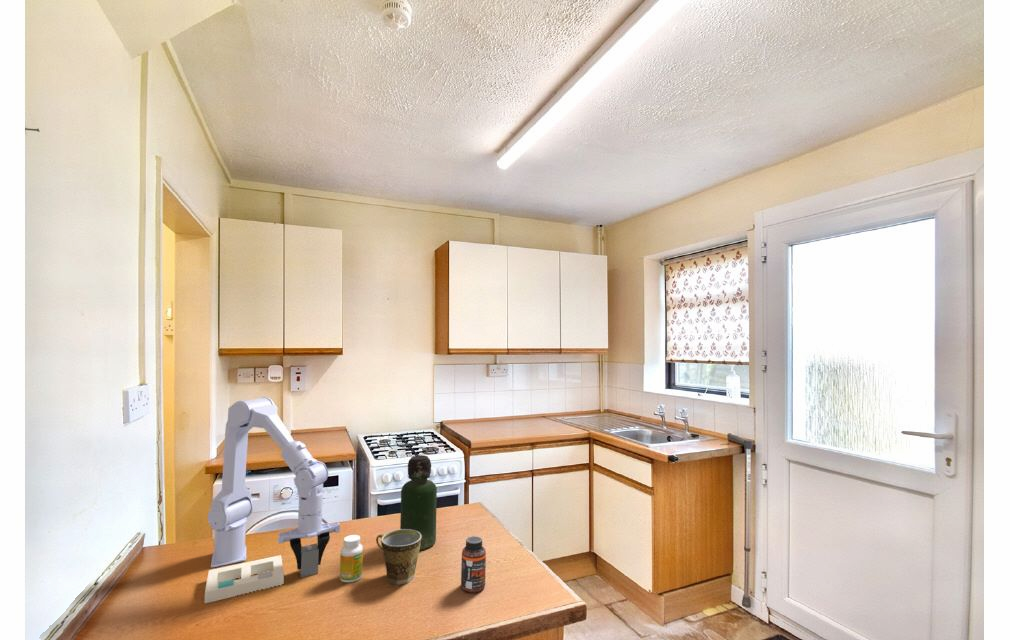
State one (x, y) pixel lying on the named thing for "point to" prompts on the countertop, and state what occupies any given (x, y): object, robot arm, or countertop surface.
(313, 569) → the plug
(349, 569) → the supplement bottle
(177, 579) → the countertop surface
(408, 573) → the ceramic cup
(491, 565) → the countertop surface
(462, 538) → the countertop surface
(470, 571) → the supplement bottle
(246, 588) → the socket board
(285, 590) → the countertop surface
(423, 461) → the green bottle
